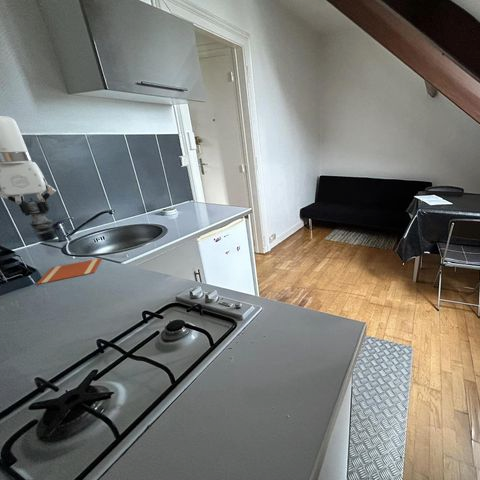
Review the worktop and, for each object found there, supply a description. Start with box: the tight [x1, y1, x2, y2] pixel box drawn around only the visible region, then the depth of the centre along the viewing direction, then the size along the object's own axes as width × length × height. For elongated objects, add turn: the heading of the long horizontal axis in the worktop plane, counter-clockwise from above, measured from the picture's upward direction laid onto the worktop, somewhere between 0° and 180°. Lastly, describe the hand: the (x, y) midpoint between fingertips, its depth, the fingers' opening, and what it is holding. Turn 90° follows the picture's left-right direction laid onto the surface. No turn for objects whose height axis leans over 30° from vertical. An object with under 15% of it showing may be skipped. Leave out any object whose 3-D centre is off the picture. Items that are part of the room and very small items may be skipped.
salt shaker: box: [26, 197, 56, 235], centre depth 90 cm, size 6×6×12 cm
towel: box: [36, 258, 103, 286], centre depth 95 cm, size 15×14×1 cm
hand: (37, 213), depth 90 cm, fingers closed on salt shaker, 3 cm apart
